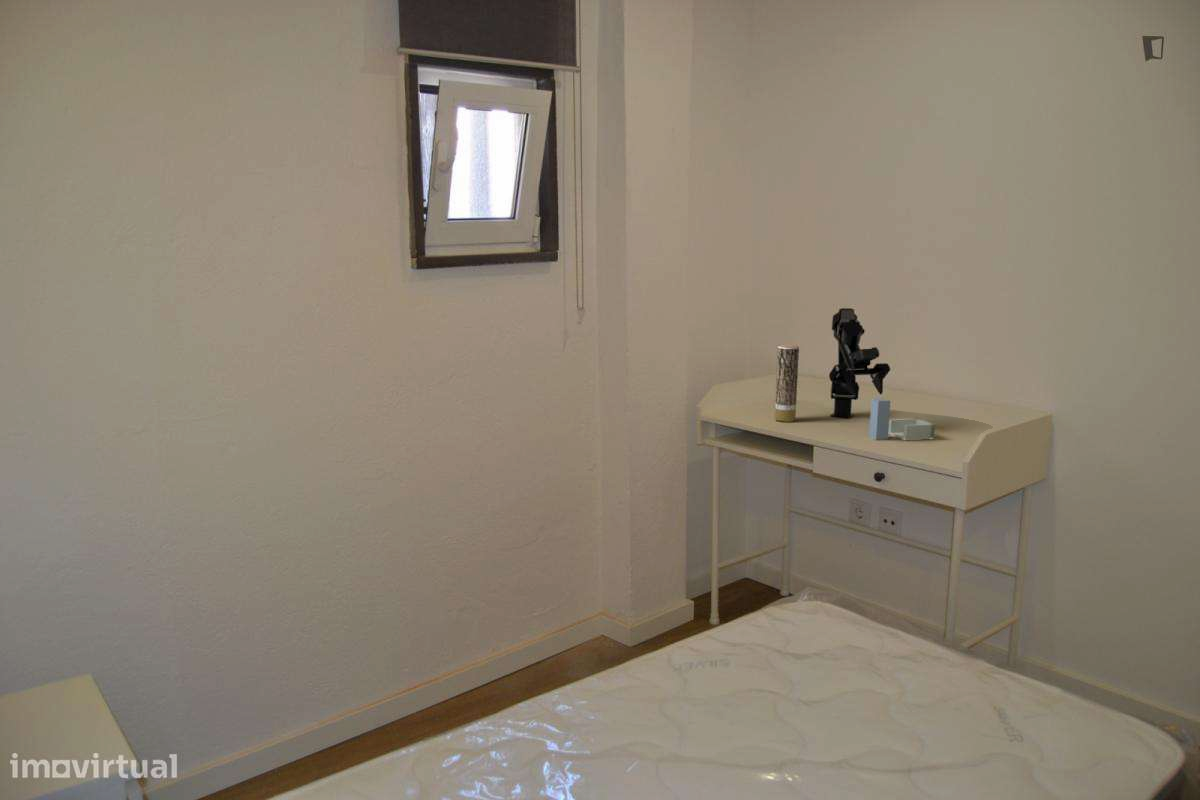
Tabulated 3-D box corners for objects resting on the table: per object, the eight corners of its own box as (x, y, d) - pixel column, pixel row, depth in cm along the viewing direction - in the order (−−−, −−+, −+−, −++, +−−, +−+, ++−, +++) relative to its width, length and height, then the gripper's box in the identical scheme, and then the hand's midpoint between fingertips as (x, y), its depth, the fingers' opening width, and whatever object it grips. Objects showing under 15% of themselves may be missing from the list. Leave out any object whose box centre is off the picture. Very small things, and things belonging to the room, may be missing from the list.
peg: (869, 437, 268) (871, 398, 266) (880, 436, 269) (883, 398, 267) (875, 440, 265) (878, 401, 262) (887, 439, 265) (890, 400, 263)
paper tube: (796, 419, 293) (800, 345, 289) (794, 423, 287) (797, 347, 282) (776, 417, 296) (779, 344, 291) (773, 421, 289) (776, 346, 285)
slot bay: (904, 440, 264) (905, 425, 263) (887, 433, 273) (888, 419, 272) (933, 439, 266) (935, 424, 265) (915, 432, 275) (917, 418, 274)
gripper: (835, 339, 271) (851, 379, 263) (889, 338, 276) (906, 378, 267) (822, 360, 280) (837, 400, 272) (874, 359, 285) (890, 398, 276)
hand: (868, 394), depth 272 cm, fingers open, 9 cm apart
